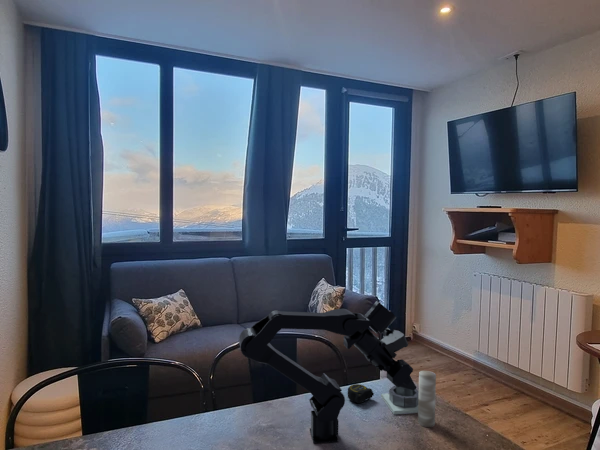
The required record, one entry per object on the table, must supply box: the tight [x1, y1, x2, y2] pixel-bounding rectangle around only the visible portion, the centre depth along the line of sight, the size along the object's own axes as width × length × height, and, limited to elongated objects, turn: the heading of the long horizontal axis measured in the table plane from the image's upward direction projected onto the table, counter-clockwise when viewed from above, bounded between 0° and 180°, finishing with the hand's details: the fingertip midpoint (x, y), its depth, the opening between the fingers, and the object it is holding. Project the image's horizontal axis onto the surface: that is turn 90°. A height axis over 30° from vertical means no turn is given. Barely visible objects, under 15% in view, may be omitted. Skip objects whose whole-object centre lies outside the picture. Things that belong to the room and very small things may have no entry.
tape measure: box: [347, 383, 375, 404], centre depth 128 cm, size 7×7×4 cm
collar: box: [388, 385, 419, 408], centre depth 125 cm, size 8×8×3 cm
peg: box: [417, 370, 437, 428], centre depth 114 cm, size 4×4×14 cm
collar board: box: [380, 392, 418, 415], centre depth 125 cm, size 11×11×1 cm
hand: (406, 381), depth 112 cm, fingers open, 9 cm apart
